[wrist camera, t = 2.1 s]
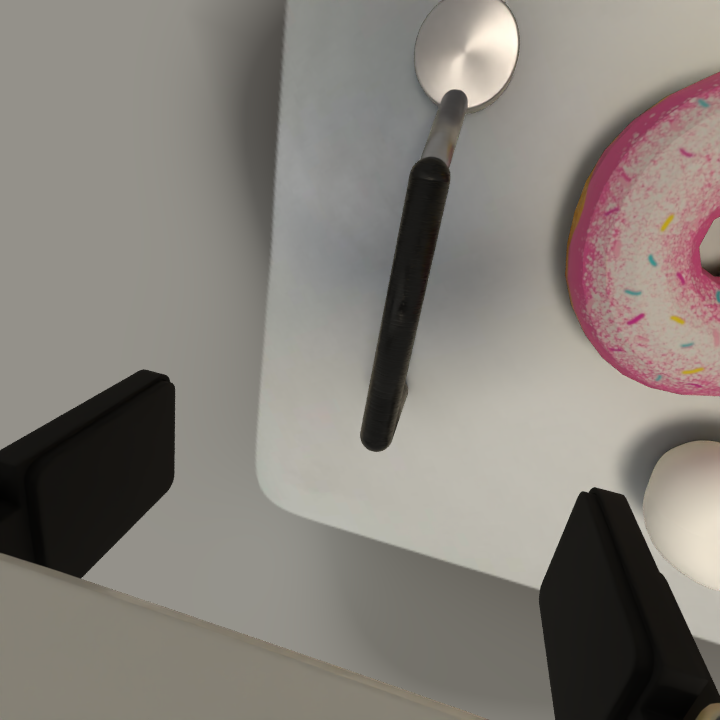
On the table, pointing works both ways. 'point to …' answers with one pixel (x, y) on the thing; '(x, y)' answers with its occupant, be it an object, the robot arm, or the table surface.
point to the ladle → (434, 180)
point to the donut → (653, 246)
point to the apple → (687, 510)
